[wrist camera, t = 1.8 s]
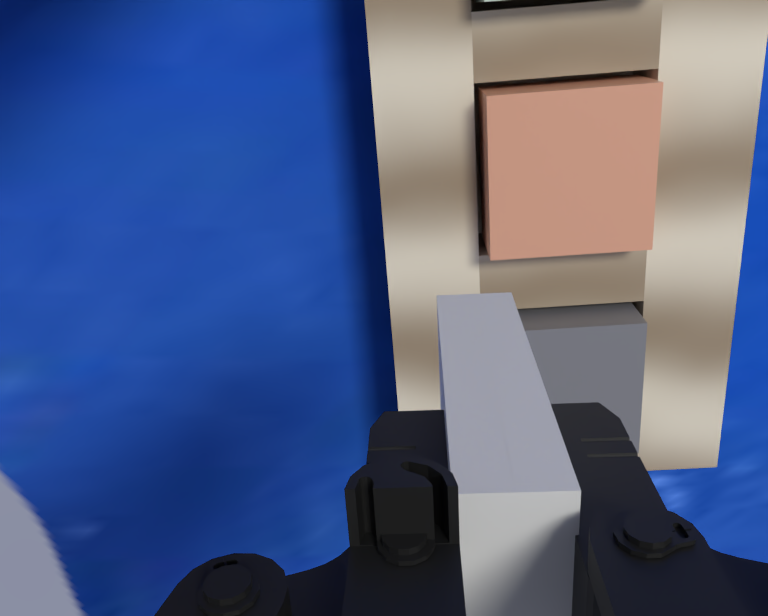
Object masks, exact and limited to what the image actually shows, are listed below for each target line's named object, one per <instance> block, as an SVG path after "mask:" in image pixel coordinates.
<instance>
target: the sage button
mask: <svg viewBox="0 0 768 616" xmlns="http://www.w3.org/2000/svg"><path fill="white" fill-rule="evenodd" d="M490 1H501V0H476V2H490Z"/></svg>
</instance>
